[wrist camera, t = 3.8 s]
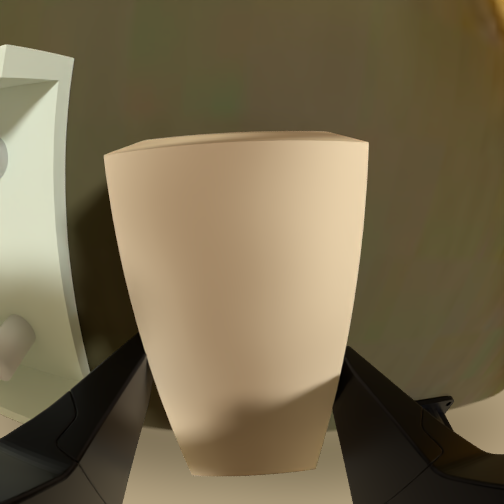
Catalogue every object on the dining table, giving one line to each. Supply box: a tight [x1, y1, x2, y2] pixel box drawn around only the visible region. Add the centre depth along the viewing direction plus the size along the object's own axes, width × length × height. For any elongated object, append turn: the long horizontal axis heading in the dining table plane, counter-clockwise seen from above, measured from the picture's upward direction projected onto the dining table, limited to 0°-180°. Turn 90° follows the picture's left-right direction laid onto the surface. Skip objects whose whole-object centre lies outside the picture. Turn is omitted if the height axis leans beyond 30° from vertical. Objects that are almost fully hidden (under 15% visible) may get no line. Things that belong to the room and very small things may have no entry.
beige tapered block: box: [104, 131, 369, 476], centre depth 9 cm, size 5×12×3 cm, turn 2°
